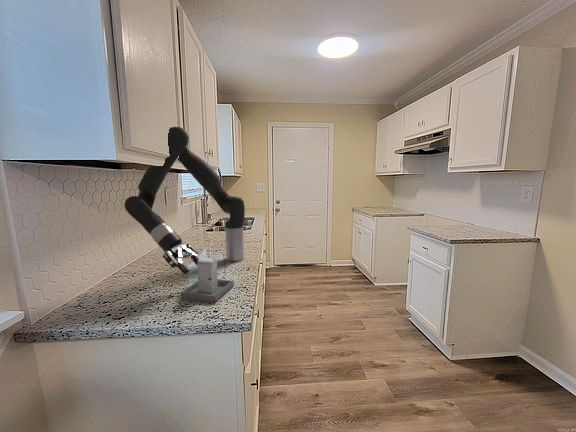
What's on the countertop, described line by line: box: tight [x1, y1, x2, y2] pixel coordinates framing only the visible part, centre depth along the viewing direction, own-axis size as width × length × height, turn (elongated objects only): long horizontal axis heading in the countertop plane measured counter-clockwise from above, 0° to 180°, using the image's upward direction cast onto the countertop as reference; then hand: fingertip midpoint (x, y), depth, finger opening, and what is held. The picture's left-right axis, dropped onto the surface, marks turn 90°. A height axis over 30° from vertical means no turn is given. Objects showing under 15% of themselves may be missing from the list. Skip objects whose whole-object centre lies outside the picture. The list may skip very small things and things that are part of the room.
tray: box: [179, 278, 235, 304], centre depth 99 cm, size 14×14×2 cm
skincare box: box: [197, 257, 218, 293], centre depth 99 cm, size 6×4×12 cm
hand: (194, 268), depth 99 cm, fingers open, 8 cm apart
